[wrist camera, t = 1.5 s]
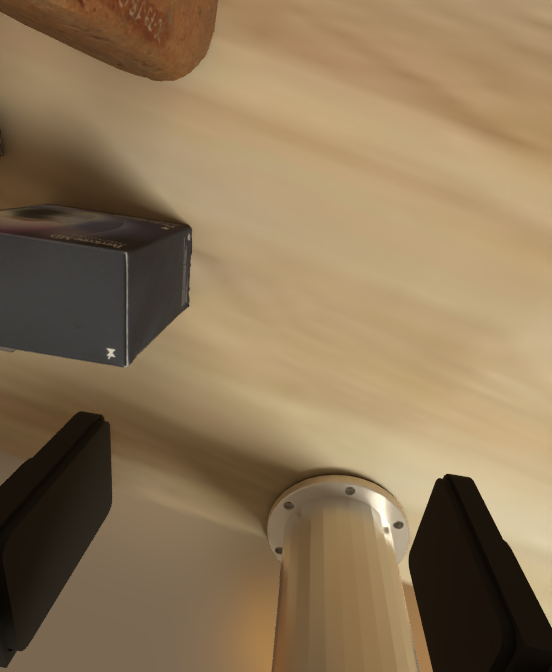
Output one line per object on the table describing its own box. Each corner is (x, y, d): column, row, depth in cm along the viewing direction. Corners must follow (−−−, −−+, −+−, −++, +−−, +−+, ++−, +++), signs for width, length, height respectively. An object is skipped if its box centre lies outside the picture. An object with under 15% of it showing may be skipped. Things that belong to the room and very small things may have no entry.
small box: (195, 219, 28) (130, 247, 18) (190, 309, 30) (132, 375, 21) (45, 198, 28) (-96, 213, 19) (53, 288, 31) (-67, 343, 21)
